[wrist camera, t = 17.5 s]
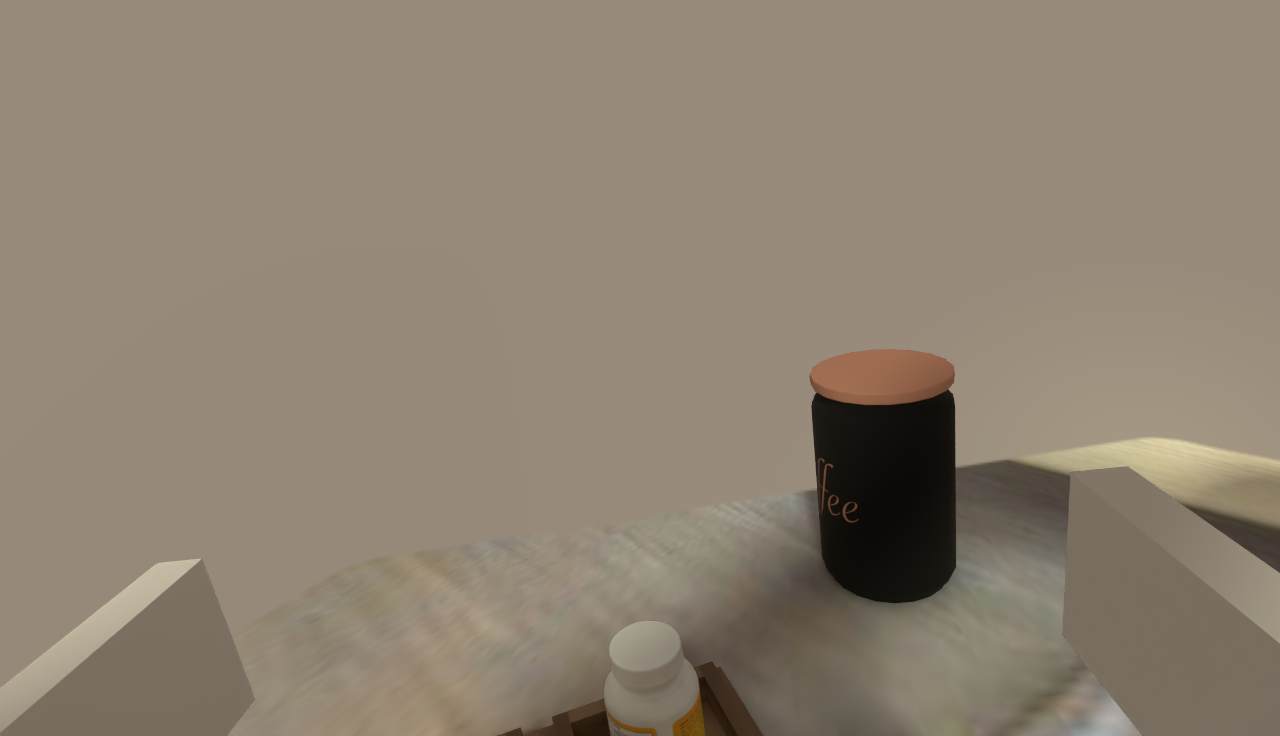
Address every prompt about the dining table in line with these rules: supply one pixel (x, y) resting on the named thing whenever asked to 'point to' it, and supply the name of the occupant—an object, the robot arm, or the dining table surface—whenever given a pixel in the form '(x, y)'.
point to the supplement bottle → (651, 684)
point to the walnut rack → (723, 712)
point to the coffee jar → (886, 472)
